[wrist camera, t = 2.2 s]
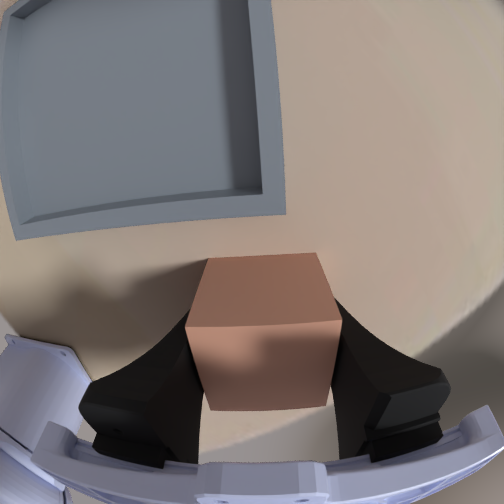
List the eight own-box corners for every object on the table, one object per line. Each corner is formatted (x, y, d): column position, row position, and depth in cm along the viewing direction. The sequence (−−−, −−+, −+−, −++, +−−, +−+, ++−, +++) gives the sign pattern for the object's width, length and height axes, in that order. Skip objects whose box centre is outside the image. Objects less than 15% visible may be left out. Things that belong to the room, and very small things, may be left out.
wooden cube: (221, 337, 15) (210, 410, 11) (208, 257, 13) (184, 326, 9) (311, 333, 15) (325, 405, 10) (315, 252, 13) (342, 319, 8)
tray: (34, 228, 12) (16, 240, 11) (22, 16, 7) (4, 12, 5) (282, 201, 12) (285, 214, 10) (258, -65, 6) (258, -85, 4)
